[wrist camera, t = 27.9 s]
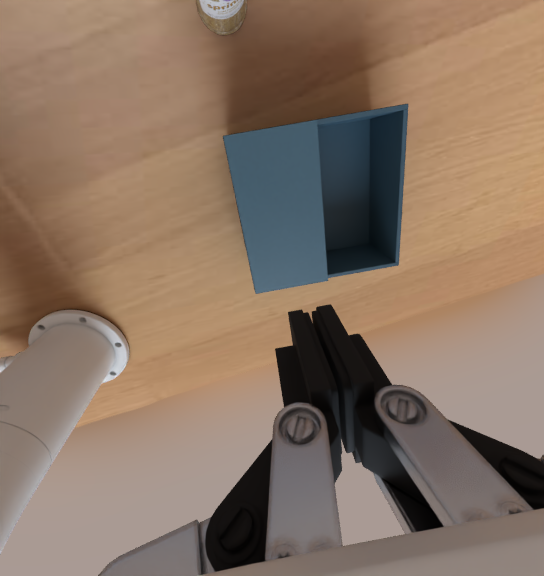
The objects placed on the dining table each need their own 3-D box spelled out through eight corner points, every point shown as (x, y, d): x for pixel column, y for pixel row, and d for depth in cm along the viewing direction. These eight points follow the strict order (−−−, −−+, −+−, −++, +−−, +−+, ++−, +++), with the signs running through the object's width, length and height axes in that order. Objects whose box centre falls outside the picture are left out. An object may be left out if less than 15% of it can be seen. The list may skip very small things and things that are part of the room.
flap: (255, 292, 29) (255, 293, 29) (223, 136, 22) (223, 135, 22) (327, 279, 29) (328, 280, 29) (316, 120, 23) (317, 119, 22)
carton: (253, 265, 36) (254, 291, 29) (227, 139, 29) (222, 135, 23) (370, 244, 36) (398, 265, 30) (372, 114, 30) (408, 103, 23)
